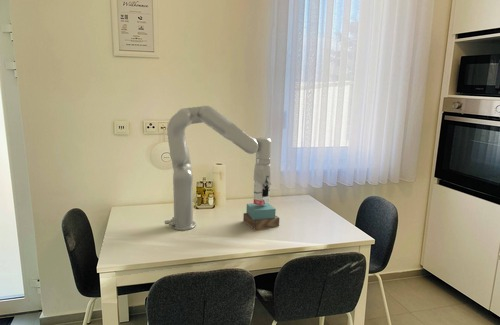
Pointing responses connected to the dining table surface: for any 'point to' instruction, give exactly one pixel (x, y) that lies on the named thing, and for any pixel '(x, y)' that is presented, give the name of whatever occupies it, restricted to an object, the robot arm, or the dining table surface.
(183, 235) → the dining table surface
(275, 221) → the walnut base block
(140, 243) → the dining table surface
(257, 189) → the ink box
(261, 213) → the teal top block
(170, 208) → the dining table surface
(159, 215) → the dining table surface
